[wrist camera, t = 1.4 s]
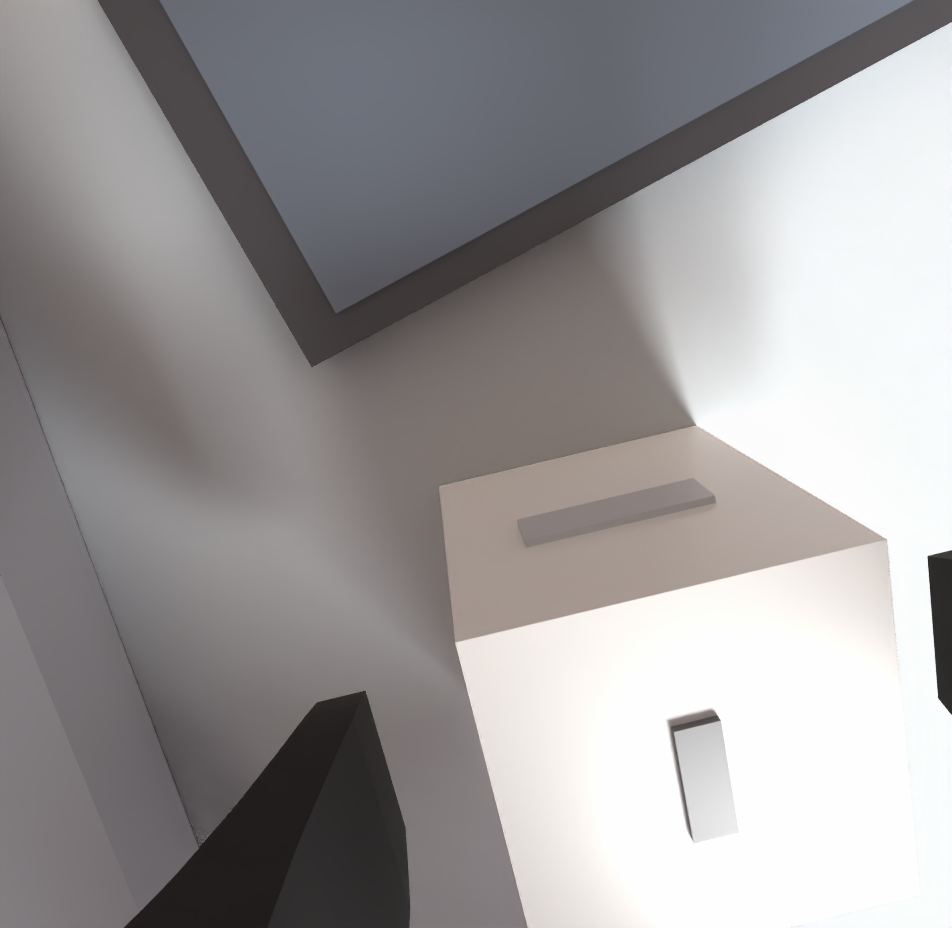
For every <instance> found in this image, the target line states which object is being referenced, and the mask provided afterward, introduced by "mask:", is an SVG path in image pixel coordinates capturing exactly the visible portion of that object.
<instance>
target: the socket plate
mask: <svg viewBox="0 0 952 928" xmlns="http://www.w3.org/2000/svg"><path fill="white" fill-rule="evenodd" d="M198 849H199V847H198V844H197V841H196V839H195V836H194V833H193V831H192V828H191V825H190V823H189V820H188V817H187V815H186V812H185V809H184V807H183V804H182V801H181V799H180V796H179V793H178V791H177V788H176V785H175V783H174V780H173V777H172V775H171V772H170V769H169V767H168V764H167V761H166V759H165V756H164V753H163V751H162V748H161V745H160V743H159V740H158V737H157V735H156V732H155V729H154V727H153V724H152V721H151V719H150V716H149V713H148V711H147V708H146V705H145V703H144V700H143V697H142V695H141V692H140V689H139V687H138V684H137V681H136V679H135V676H134V673H133V671H132V668H131V665H130V663H129V660H128V657H127V655H126V652H125V649H124V647H123V644H122V641H121V639H120V636H119V633H118V631H117V628H116V625H115V623H114V620H113V617H112V615H111V612H110V609H109V607H108V604H107V601H106V599H105V596H104V593H103V591H102V588H101V585H100V583H99V580H98V577H97V575H96V572H95V569H94V567H93V564H92V561H91V559H90V556H89V553H88V551H87V548H86V545H85V543H84V540H83V537H82V535H81V532H80V529H79V527H78V524H77V521H76V519H75V516H74V513H73V511H72V508H71V505H70V503H69V500H68V497H67V495H66V492H65V489H64V487H63V484H62V481H61V479H60V476H59V473H58V471H57V468H56V465H55V463H54V460H53V457H52V455H51V452H50V449H49V447H48V444H47V441H46V439H45V436H44V433H43V431H42V428H41V425H40V423H39V420H38V417H37V415H36V412H35V409H34V407H33V404H32V401H31V399H30V396H29V393H28V391H27V388H26V385H25V383H24V380H23V377H22V375H21V372H20V369H19V367H18V364H17V361H16V359H15V356H14V353H13V351H12V348H11V345H10V343H9V340H8V337H7V335H6V332H5V329H4V327H3V324H2V321H1V319H0V928H124V927H125V926H126V925H127V924H128V923H129V922H130V921H131V920H132V919H133V918H134V917H135V916H136V915H137V914H138V913H139V912H140V911H141V910H142V909H143V908H144V907H145V906H146V905H147V904H148V903H149V902H150V901H151V900H152V899H153V898H154V897H155V896H156V895H157V894H158V893H159V892H160V891H161V890H162V889H163V888H164V886H165V885H166V884H167V883H168V882H169V881H170V880H171V879H172V878H173V877H174V876H175V875H176V874H177V873H178V872H179V870H180V869H181V868H182V867H183V866H184V865H185V864H186V862H187V861H188V860H189V859H190V858H191V857H192V856H193V854H194V853H195V852H196V851H197V850H198Z"/></svg>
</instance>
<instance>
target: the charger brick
mask: <svg viewBox="0 0 952 928" xmlns="http://www.w3.org/2000/svg"><path fill="white" fill-rule="evenodd" d="M439 493H440V502H441V512H442V521H443V531H444V540H445V550H446V560H447V569H448V579H449V588H450V598H451V607H452V617H453V627H454V636H455V644H456V648H457V652H458V656H459V660H460V664H461V667H462V671H463V675H464V679H465V683H466V687H467V691H468V695H469V699H470V703H471V707H472V711H473V715H474V719H475V723H476V726H477V730H478V734H479V738H480V742H481V746H482V750H483V754H484V758H485V762H486V766H487V770H488V774H489V778H490V782H491V786H492V789H493V793H494V797H495V801H496V805H497V809H498V813H499V817H500V821H501V825H502V829H503V833H504V837H505V841H506V845H507V848H508V852H509V856H510V860H511V864H512V868H513V872H514V876H515V880H516V884H517V888H518V892H519V896H520V900H521V904H522V907H523V911H524V915H525V919H526V923H527V927H528V928H785V927H789V926H794V925H798V924H802V923H806V922H810V921H814V920H818V919H822V918H826V917H830V916H834V915H838V914H842V913H846V912H850V911H854V910H859V909H863V908H867V907H871V906H875V905H879V904H883V903H887V902H891V901H895V900H899V899H903V898H907V897H911V896H915V895H919V885H918V874H917V863H916V852H915V841H914V830H913V819H912V808H911V797H910V786H909V775H908V764H907V754H906V743H905V732H904V721H903V710H902V699H901V688H900V677H899V666H898V655H897V644H896V633H895V622H894V612H893V601H892V590H891V579H890V568H889V557H888V546H887V539H885V538H884V537H882V536H880V535H879V534H877V533H875V532H874V531H872V530H870V529H869V528H867V527H865V526H864V525H862V524H860V523H858V522H857V521H855V520H853V519H852V518H850V517H848V516H847V515H845V514H843V513H842V512H840V511H838V510H837V509H835V508H833V507H832V506H830V505H828V504H827V503H825V502H823V501H822V500H820V499H818V498H817V497H815V496H813V495H812V494H810V493H808V492H807V491H805V490H803V489H802V488H800V487H798V486H797V485H795V484H793V483H792V482H790V481H788V480H787V479H785V478H783V477H782V476H780V475H778V474H777V473H775V472H773V471H772V470H770V469H768V468H767V467H765V466H763V465H762V464H760V463H758V462H756V461H755V460H753V459H751V458H750V457H748V456H746V455H745V454H743V453H741V452H740V451H738V450H736V449H735V448H733V447H731V446H730V445H728V444H726V443H725V442H723V441H721V440H720V439H718V438H716V437H715V436H713V435H711V434H710V433H708V432H706V431H705V430H703V429H701V428H700V427H698V426H691V427H687V428H683V429H679V430H675V431H670V432H666V433H662V434H658V435H653V436H649V437H645V438H641V439H636V440H632V441H628V442H624V443H620V444H615V445H611V446H607V447H603V448H598V449H594V450H590V451H586V452H581V453H577V454H573V455H569V456H564V457H560V458H556V459H552V460H548V461H543V462H539V463H535V464H531V465H526V466H522V467H518V468H514V469H509V470H505V471H501V472H497V473H493V474H488V475H484V476H480V477H476V478H471V479H467V480H463V481H459V482H454V483H450V484H446V485H442V486H439Z"/></svg>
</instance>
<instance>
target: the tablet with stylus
mask: <svg viewBox="0 0 952 928" xmlns="http://www.w3.org/2000/svg"><path fill="white" fill-rule="evenodd" d="M98 1H99V3H100V5H101V7H102V8H103V10H104V12H105V13H106V15H107V17H108V19H109V20H110V22H111V24H112V25H113V27H114V29H115V31H116V32H117V34H118V36H119V37H120V39H121V41H122V43H123V44H124V46H125V48H126V49H127V51H128V53H129V55H130V56H131V58H132V60H133V61H134V63H135V65H136V67H137V68H138V70H139V72H140V73H141V75H142V77H143V79H144V80H145V82H146V84H147V85H148V87H149V89H150V91H151V92H152V94H153V96H154V97H155V99H156V101H157V103H158V104H159V106H160V108H161V109H162V111H163V113H164V115H165V116H166V118H167V120H168V121H169V123H170V125H171V127H172V128H173V130H174V132H175V133H176V135H177V137H178V139H179V140H180V142H181V144H182V145H183V147H184V149H185V151H186V152H187V154H188V156H189V157H190V159H191V161H192V163H193V164H194V166H195V168H196V169H197V171H198V173H199V175H200V176H201V178H202V180H203V181H204V183H205V185H206V187H207V188H208V190H209V192H210V193H211V195H212V197H213V199H214V200H215V202H216V204H217V205H218V207H219V209H220V211H221V212H222V214H223V216H224V217H225V219H226V221H227V223H228V224H229V226H230V228H231V229H232V231H233V233H234V235H235V236H236V238H237V240H238V241H239V243H240V245H241V247H242V248H243V250H244V252H245V253H246V255H247V257H248V259H249V260H250V262H251V264H252V265H253V267H254V269H255V271H256V272H257V274H258V276H259V277H260V279H261V281H262V283H263V284H264V286H265V288H266V289H267V291H268V293H269V295H270V296H271V298H272V300H273V301H274V303H275V305H276V307H277V308H278V310H279V312H280V313H281V315H282V317H283V319H284V320H285V322H286V324H287V325H288V327H289V329H290V331H291V332H292V334H293V336H294V337H295V339H296V341H297V343H298V344H299V346H300V348H301V349H302V351H303V353H304V355H305V356H306V358H307V360H308V361H309V363H310V365H311V367H313V366H315V365H317V364H318V363H320V362H322V361H324V360H326V359H328V358H330V357H331V356H333V355H335V354H337V353H339V352H341V351H343V350H344V349H346V348H348V347H350V346H352V345H354V344H356V343H357V342H359V341H361V340H363V339H365V338H367V337H369V336H370V335H372V334H374V333H376V332H378V331H380V330H382V329H383V328H385V327H387V326H389V325H391V324H393V323H394V322H396V321H398V320H400V319H402V318H404V317H406V316H407V315H409V314H411V313H413V312H415V311H417V310H419V309H420V308H422V307H424V306H426V305H428V304H430V303H432V302H433V301H435V300H437V299H439V298H441V297H443V296H445V295H446V294H448V293H450V292H452V291H454V290H456V289H458V288H459V287H461V286H463V285H465V284H467V283H469V282H470V281H472V280H474V279H476V278H478V277H480V276H482V275H483V274H485V273H487V272H489V271H491V270H493V269H495V268H496V267H498V266H500V265H502V264H504V263H506V262H508V261H509V260H511V259H513V258H515V257H517V256H519V255H521V254H522V253H524V252H526V251H528V250H530V249H532V248H534V247H535V246H537V245H539V244H541V243H543V242H545V241H546V240H548V239H550V238H552V237H554V236H556V235H558V234H559V233H561V232H563V231H565V230H567V229H569V228H571V227H572V226H574V225H576V224H578V223H580V222H582V221H584V220H585V219H587V218H589V217H591V216H593V215H595V214H597V213H598V212H600V211H602V210H604V209H606V208H608V207H610V206H611V205H613V204H615V203H617V202H619V201H621V200H623V199H624V198H626V197H628V196H630V195H632V194H634V193H635V192H637V191H639V190H641V189H643V188H645V187H647V186H648V185H650V184H652V183H654V182H656V181H658V180H660V179H661V178H663V177H665V176H667V175H669V174H671V173H673V172H674V171H676V170H678V169H680V168H682V167H684V166H686V165H687V164H689V163H691V162H693V161H695V160H697V159H699V158H700V157H702V156H704V155H706V154H708V153H710V152H711V151H713V150H715V149H717V148H719V147H721V146H723V145H724V144H726V143H728V142H730V141H732V140H734V139H736V138H737V137H739V136H741V135H743V134H745V133H747V132H749V131H750V130H752V129H754V128H756V127H758V126H760V125H762V124H763V123H765V122H767V121H769V120H771V119H773V118H775V117H776V116H778V115H780V114H782V113H784V112H786V111H787V110H789V109H791V108H793V107H795V106H797V105H799V104H800V103H802V102H804V101H806V100H808V99H810V98H812V97H813V96H815V95H817V94H819V93H821V92H823V91H825V90H826V89H828V88H830V87H832V86H834V85H836V84H838V83H839V82H841V81H843V80H845V79H847V78H849V77H851V76H852V75H854V74H856V73H858V72H860V71H862V70H863V69H865V68H867V67H869V66H871V65H873V64H875V63H876V62H878V61H880V60H882V59H884V58H886V57H888V56H889V55H891V54H893V53H895V52H897V51H899V50H901V49H902V48H904V47H906V46H908V45H910V44H912V43H914V42H915V41H917V40H919V39H921V38H923V37H925V36H927V35H928V34H930V33H932V32H934V31H936V30H938V29H940V28H941V27H943V26H945V25H947V24H949V23H951V22H952V0H98Z"/></svg>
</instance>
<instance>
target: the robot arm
mask: <svg viewBox="0 0 952 928" xmlns="http://www.w3.org/2000/svg"><path fill="white" fill-rule="evenodd" d="M928 568H929V582H930V595H931V608H932V622H933V635H934V648H935V661H936V675H937V688H938V699H939V700H940V701H941V702H942V703H943V705H944V706H945V707H946V708H947V710H948V711H949V712H950V713H951V714H952V550H951V551H947V552H943V553H939V554H934V555H930V556H928ZM409 920H410V895H409V876H408V860H407V845H406V830H405V825H404V821H403V818H402V815H401V811H400V808H399V804H398V801H397V797H396V794H395V791H394V787H393V784H392V780H391V777H390V773H389V770H388V767H387V763H386V760H385V756H384V753H383V750H382V746H381V743H380V739H379V736H378V732H377V729H376V726H375V722H374V719H373V715H372V712H371V709H370V705H369V702H368V698H367V695H366V691H363V692H358V693H354V694H350V695H346V696H342V697H337V698H333V699H329V700H325V701H321V702H317V703H316V705H315V706H314V707H313V708H312V709H311V710H310V711H309V713H308V714H307V715H306V716H305V718H304V719H303V720H302V721H301V723H300V724H299V725H298V727H297V728H296V729H295V731H294V732H293V733H292V734H291V736H290V737H289V738H288V740H287V741H286V742H285V744H284V745H283V746H282V748H281V749H280V750H279V751H278V753H277V754H276V755H275V757H274V758H273V759H272V761H271V762H270V763H269V764H268V766H267V767H266V768H265V769H264V771H263V772H262V773H261V775H260V776H259V777H258V778H257V780H256V781H255V782H254V783H253V785H252V786H251V787H250V788H249V790H248V791H247V792H246V794H245V795H244V796H243V797H242V799H241V800H240V801H239V802H238V804H237V805H236V806H235V807H234V808H233V810H232V811H231V812H230V813H229V814H228V815H227V816H226V818H225V819H224V820H223V821H222V822H221V823H220V825H219V826H218V827H217V828H216V829H215V830H214V831H213V833H212V834H211V835H210V836H209V837H208V838H207V839H206V841H205V842H204V843H203V844H202V845H201V846H200V847H199V849H198V850H197V851H196V852H195V853H194V854H193V856H192V857H191V858H190V859H189V860H188V861H187V862H186V864H185V865H184V866H183V867H182V868H181V869H180V870H179V872H178V873H177V874H176V875H175V876H174V877H173V878H172V879H171V880H170V881H169V882H168V883H167V884H166V885H165V886H164V888H163V889H162V890H161V891H160V892H159V893H158V894H157V895H156V896H155V897H154V898H153V899H152V900H151V901H150V902H149V903H148V904H147V905H146V906H145V907H144V908H143V909H142V910H141V911H140V912H139V913H138V914H137V915H136V916H135V917H134V918H133V919H132V920H131V921H130V922H129V923H128V924H127V925H126V926H125V927H124V928H409Z"/></svg>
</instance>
